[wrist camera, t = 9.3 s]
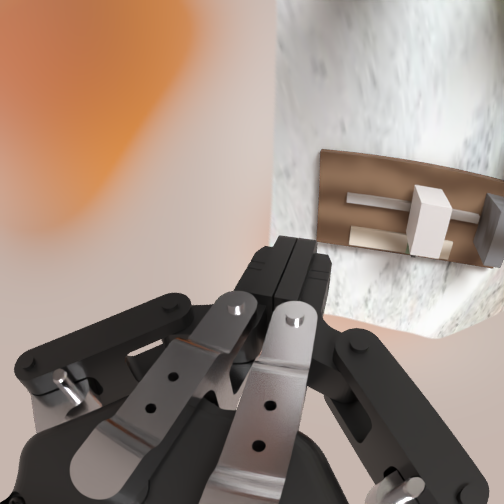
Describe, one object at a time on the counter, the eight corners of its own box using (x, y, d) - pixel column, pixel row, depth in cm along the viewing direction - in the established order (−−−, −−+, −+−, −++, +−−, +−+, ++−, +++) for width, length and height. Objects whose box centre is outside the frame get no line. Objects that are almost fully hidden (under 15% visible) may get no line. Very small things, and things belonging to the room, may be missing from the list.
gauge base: (321, 149, 40) (313, 164, 34) (515, 183, 31) (536, 205, 25) (317, 236, 48) (309, 264, 42) (490, 263, 39) (503, 292, 33)
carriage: (414, 183, 36) (421, 203, 31) (441, 188, 35) (452, 208, 30) (400, 253, 42) (403, 279, 37) (425, 257, 41) (430, 283, 36)
